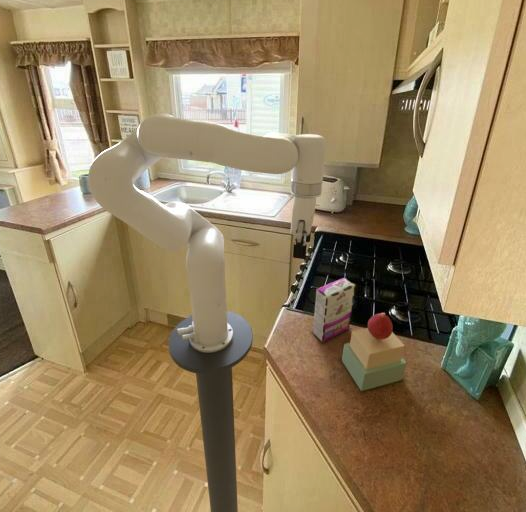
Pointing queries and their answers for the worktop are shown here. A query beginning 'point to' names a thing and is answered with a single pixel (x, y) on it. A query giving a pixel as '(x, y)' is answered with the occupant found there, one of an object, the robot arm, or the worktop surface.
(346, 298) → the candy bar box
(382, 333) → the onion
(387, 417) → the worktop surface
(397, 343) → the box stack
